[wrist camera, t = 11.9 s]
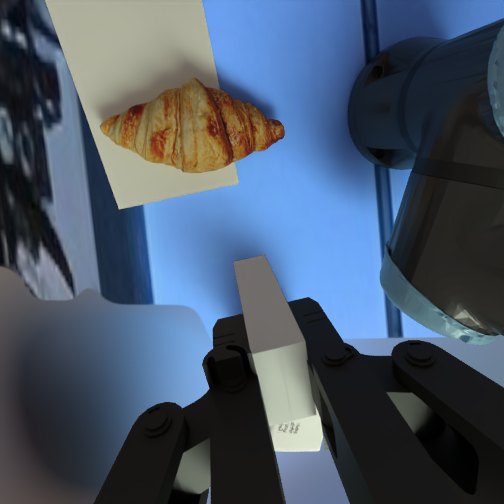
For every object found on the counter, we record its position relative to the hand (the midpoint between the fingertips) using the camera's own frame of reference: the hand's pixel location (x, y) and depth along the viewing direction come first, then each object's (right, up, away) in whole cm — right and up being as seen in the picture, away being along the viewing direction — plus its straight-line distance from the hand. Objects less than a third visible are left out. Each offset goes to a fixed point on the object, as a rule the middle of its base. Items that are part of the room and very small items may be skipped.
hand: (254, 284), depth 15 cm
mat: (-12, +20, +23) cm, 32 cm away
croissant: (-7, +17, +24) cm, 30 cm away
